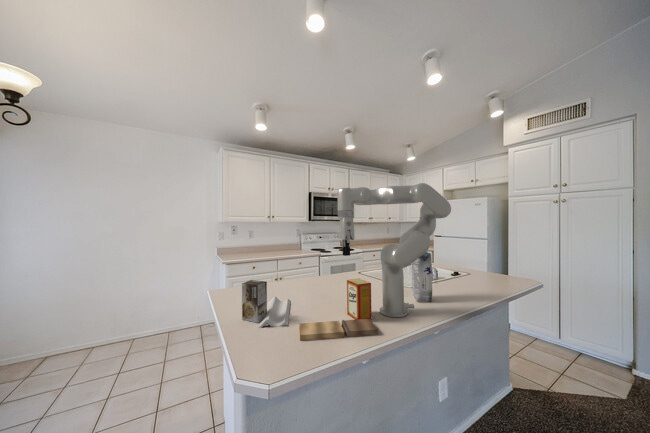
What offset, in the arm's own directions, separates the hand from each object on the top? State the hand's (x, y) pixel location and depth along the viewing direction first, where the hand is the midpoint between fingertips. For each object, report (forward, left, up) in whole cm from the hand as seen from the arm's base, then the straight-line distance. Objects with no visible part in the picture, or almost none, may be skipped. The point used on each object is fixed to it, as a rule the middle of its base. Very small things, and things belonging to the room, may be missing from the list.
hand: (346, 255), depth 109 cm
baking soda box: (-5, +2, -27) cm, 28 cm away
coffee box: (+41, -3, -27) cm, 49 cm away
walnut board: (-1, +15, -27) cm, 31 cm away
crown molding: (+32, -9, -28) cm, 43 cm away
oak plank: (+14, +15, -27) cm, 34 cm away
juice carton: (-45, -15, -27) cm, 55 cm away
